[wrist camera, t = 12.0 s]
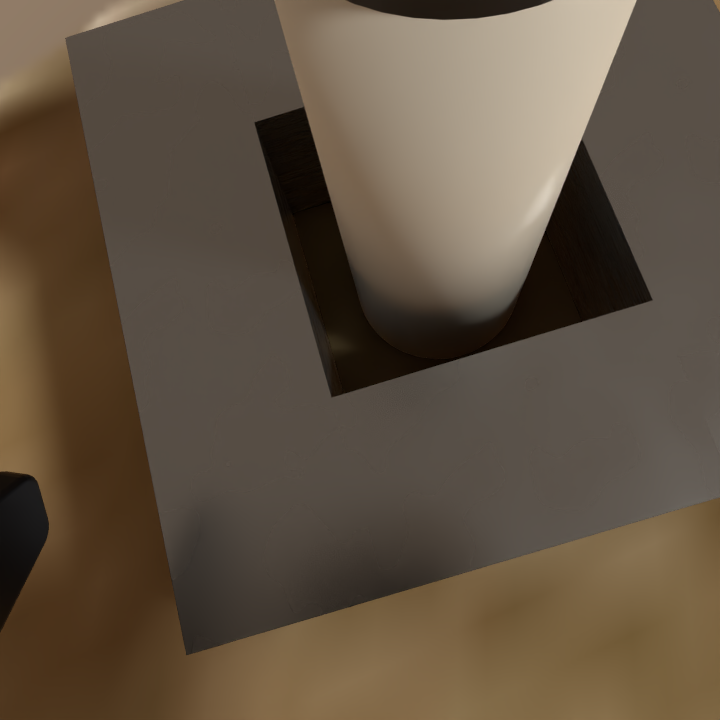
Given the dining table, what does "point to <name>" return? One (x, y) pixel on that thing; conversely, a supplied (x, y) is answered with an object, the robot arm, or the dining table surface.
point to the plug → (447, 146)
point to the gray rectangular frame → (413, 391)
